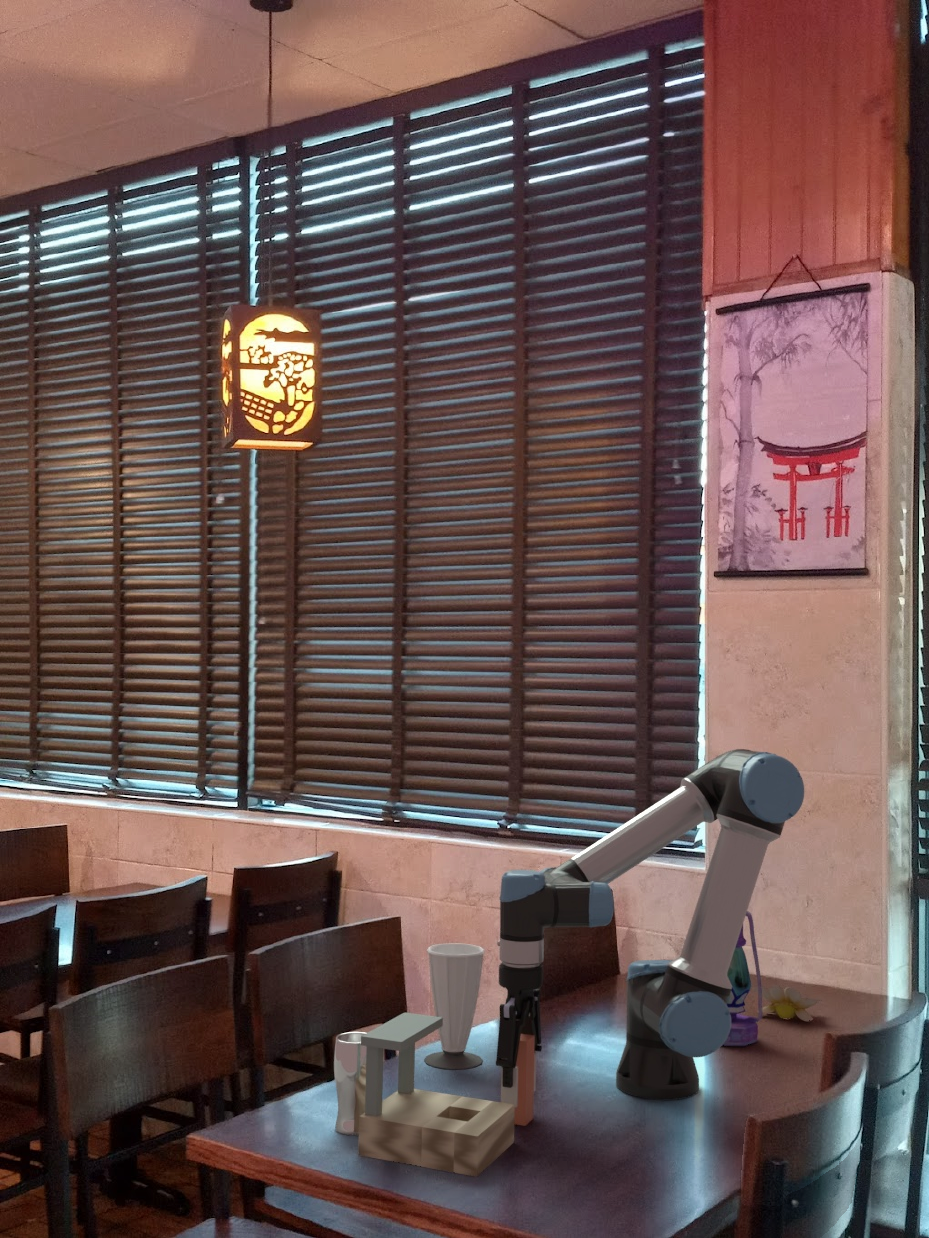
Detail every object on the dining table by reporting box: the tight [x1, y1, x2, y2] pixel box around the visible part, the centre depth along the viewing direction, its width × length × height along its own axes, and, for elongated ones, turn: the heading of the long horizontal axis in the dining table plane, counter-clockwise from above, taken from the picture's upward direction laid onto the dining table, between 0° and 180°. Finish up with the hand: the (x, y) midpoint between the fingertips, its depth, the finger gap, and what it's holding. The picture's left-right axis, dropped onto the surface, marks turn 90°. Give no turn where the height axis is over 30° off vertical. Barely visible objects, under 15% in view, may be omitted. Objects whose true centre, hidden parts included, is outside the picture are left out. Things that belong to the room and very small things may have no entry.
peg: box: [514, 1034, 535, 1127], centre depth 223 cm, size 4×4×14 cm
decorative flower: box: [751, 985, 822, 1022], centre depth 293 cm, size 15×11×10 cm
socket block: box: [357, 1088, 515, 1178], centre depth 209 cm, size 20×16×6 cm
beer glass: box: [333, 1031, 367, 1136], centre depth 217 cm, size 7×7×15 cm
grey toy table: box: [361, 1012, 443, 1117], centre depth 212 cm, size 7×16×12 cm, turn 157°
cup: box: [423, 942, 486, 1071], centre depth 256 cm, size 12×12×22 cm
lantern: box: [722, 910, 763, 1047], centre depth 274 cm, size 13×12×30 cm
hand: (518, 1097), depth 223 cm, fingers open, 8 cm apart
